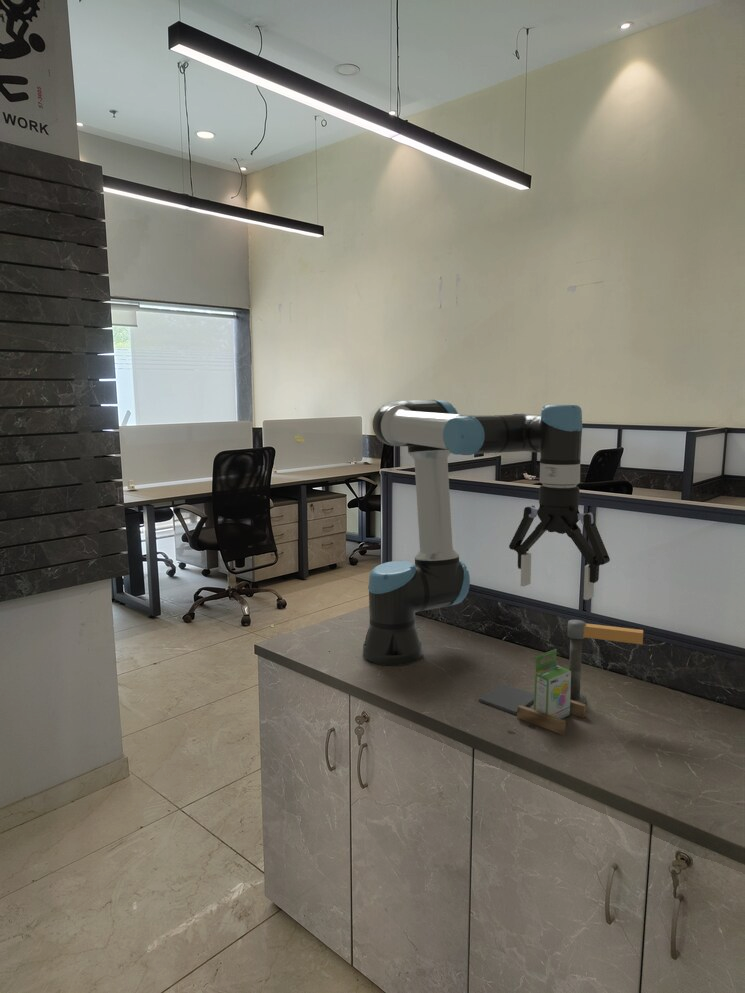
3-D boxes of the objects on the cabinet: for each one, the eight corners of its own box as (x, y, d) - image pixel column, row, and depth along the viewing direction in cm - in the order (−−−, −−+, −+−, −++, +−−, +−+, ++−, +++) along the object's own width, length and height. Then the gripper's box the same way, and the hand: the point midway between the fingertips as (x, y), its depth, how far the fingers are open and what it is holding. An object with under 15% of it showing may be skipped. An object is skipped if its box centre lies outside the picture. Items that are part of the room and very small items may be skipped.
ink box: (548, 726, 128) (550, 662, 126) (532, 718, 131) (534, 656, 129) (570, 716, 132) (572, 654, 130) (554, 708, 135) (556, 647, 133)
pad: (478, 701, 138) (478, 698, 138) (503, 685, 146) (503, 683, 146) (515, 714, 132) (515, 711, 132) (539, 698, 140) (539, 695, 139)
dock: (517, 718, 131) (519, 652, 129) (557, 689, 144) (559, 629, 141) (562, 734, 124) (565, 666, 122) (601, 703, 137) (604, 640, 135)
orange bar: (566, 637, 135) (567, 624, 135) (568, 632, 139) (568, 618, 138) (642, 647, 130) (643, 633, 129) (642, 641, 133) (643, 627, 133)
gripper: (493, 481, 130) (491, 583, 133) (614, 493, 113) (609, 609, 116) (513, 478, 135) (510, 576, 138) (631, 488, 118) (625, 599, 121)
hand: (555, 591), depth 127 cm, fingers open, 13 cm apart
